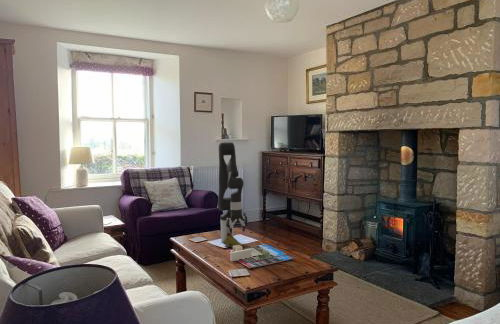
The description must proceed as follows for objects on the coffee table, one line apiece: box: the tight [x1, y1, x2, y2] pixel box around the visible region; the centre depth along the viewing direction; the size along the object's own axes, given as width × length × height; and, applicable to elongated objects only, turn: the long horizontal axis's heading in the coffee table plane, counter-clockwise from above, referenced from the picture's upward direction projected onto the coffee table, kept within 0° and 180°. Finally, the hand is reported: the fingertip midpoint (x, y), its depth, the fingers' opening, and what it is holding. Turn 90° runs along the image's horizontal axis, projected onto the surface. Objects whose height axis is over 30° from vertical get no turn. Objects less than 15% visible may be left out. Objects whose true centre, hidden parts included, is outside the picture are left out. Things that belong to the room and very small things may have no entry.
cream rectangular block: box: [229, 248, 252, 262], centre depth 228 cm, size 2×14×6 cm, turn 114°
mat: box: [243, 247, 264, 257], centre depth 240 cm, size 16×7×1 cm, turn 24°
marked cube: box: [232, 244, 244, 252], centre depth 236 cm, size 5×5×6 cm
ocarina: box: [222, 233, 245, 250], centre depth 251 cm, size 20×5×10 cm, turn 50°
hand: (237, 232), depth 235 cm, fingers open, 8 cm apart
